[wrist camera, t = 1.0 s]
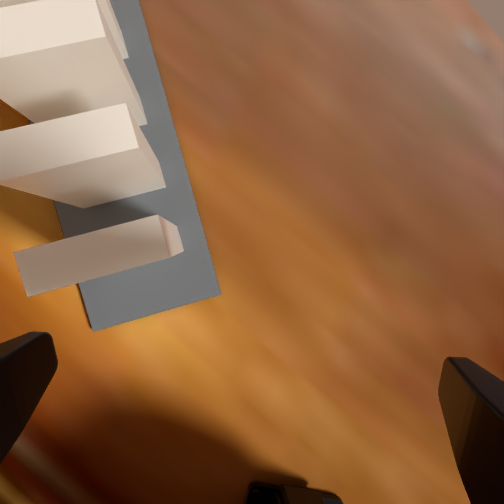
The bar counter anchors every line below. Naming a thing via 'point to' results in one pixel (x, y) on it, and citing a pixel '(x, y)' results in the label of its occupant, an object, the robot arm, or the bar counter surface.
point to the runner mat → (147, 206)
